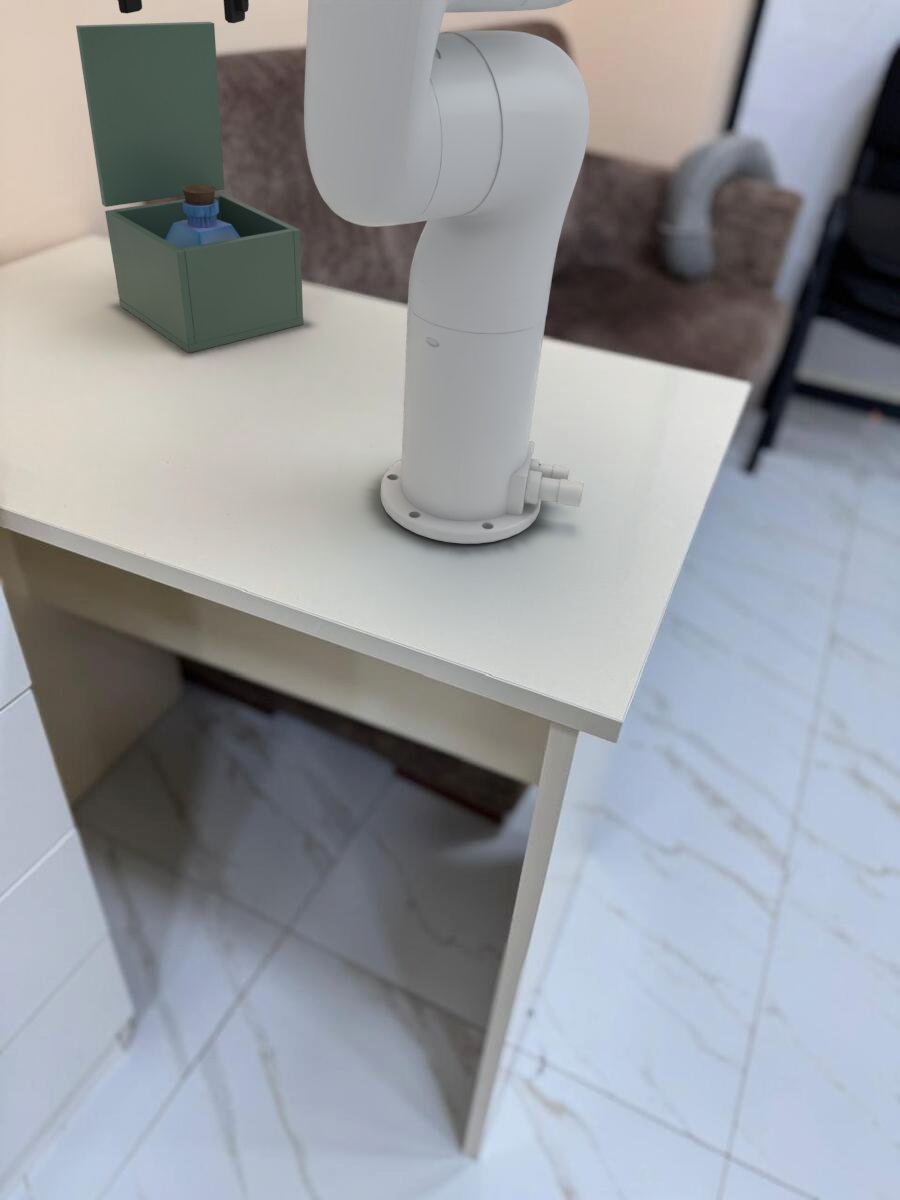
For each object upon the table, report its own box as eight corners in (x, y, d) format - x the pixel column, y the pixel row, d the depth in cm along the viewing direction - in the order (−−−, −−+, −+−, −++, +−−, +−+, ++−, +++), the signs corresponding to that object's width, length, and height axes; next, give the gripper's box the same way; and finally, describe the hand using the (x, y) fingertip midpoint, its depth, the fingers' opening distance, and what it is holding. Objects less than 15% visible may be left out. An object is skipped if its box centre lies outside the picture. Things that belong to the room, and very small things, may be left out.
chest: (303, 324, 97) (300, 229, 91) (189, 353, 89) (177, 252, 83) (230, 282, 105) (223, 193, 99) (120, 306, 98) (104, 210, 91)
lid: (214, 23, 88) (187, 12, 91) (79, 27, 81) (54, 15, 84) (224, 189, 98) (200, 176, 101) (105, 207, 91) (82, 191, 94)
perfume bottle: (168, 307, 96) (152, 187, 89) (213, 292, 100) (202, 176, 93) (208, 324, 93) (195, 201, 86) (252, 308, 97) (244, 190, 90)
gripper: (24, -260, 68) (69, 12, 78) (247, -247, 66) (263, 30, 76) (74, -247, 73) (110, 4, 84) (280, -235, 72) (290, 21, 82)
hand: (183, 16), depth 80 cm, fingers open, 9 cm apart
